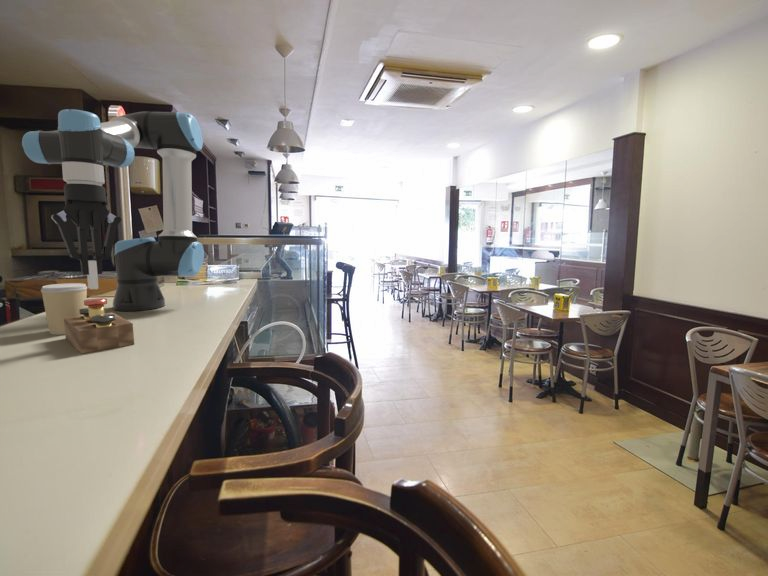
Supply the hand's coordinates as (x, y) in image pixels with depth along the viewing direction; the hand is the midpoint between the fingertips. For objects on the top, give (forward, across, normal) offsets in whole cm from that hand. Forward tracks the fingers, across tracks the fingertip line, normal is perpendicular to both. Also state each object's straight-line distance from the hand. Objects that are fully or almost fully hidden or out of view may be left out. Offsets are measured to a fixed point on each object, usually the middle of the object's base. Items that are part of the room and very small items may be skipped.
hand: (93, 288), depth 93 cm
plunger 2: (+12, 0, +6) cm, 13 cm away
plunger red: (+9, 0, 0) cm, 9 cm away
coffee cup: (+13, +3, -17) cm, 22 cm away
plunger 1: (+12, 0, -6) cm, 14 cm away
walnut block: (+13, 0, 0) cm, 13 cm away
